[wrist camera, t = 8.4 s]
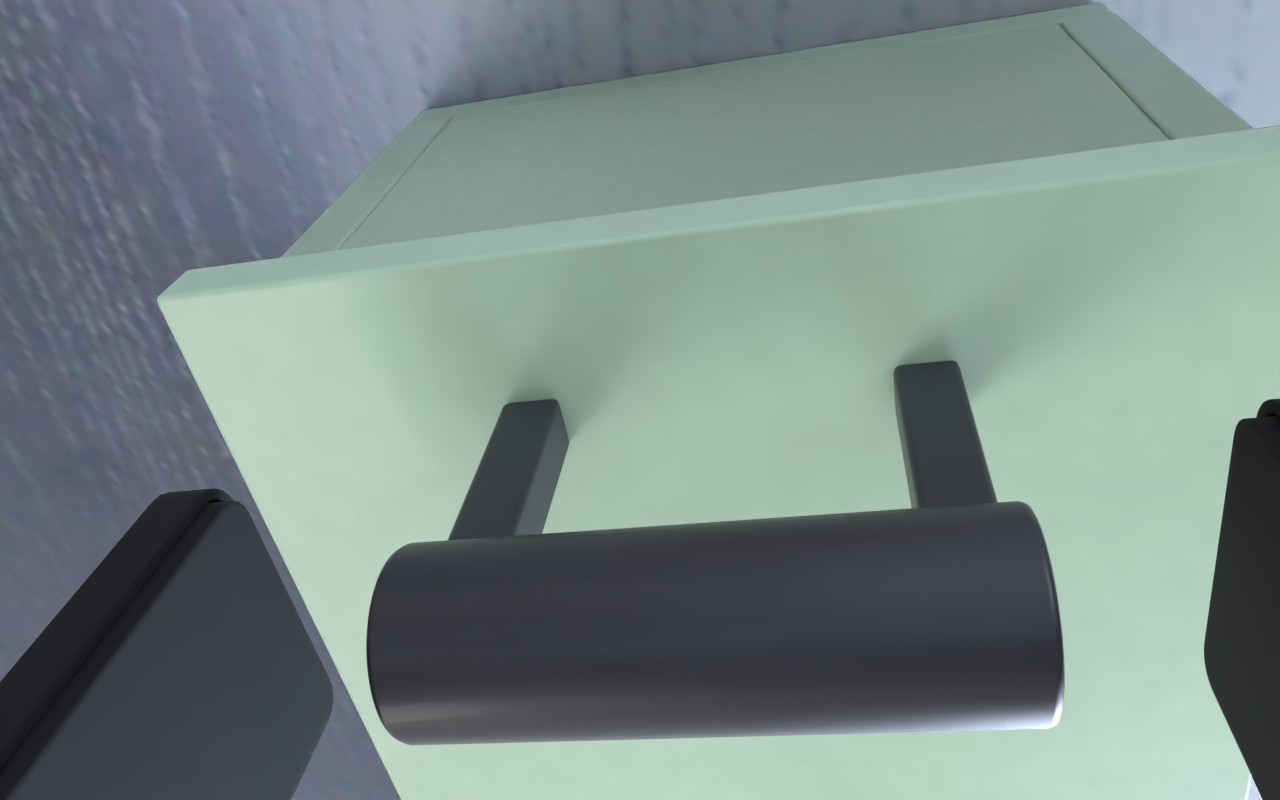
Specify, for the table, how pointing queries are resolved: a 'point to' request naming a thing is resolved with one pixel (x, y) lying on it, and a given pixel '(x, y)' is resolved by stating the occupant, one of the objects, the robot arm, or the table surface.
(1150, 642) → the lid
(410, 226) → the green hinged box
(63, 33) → the table surface
